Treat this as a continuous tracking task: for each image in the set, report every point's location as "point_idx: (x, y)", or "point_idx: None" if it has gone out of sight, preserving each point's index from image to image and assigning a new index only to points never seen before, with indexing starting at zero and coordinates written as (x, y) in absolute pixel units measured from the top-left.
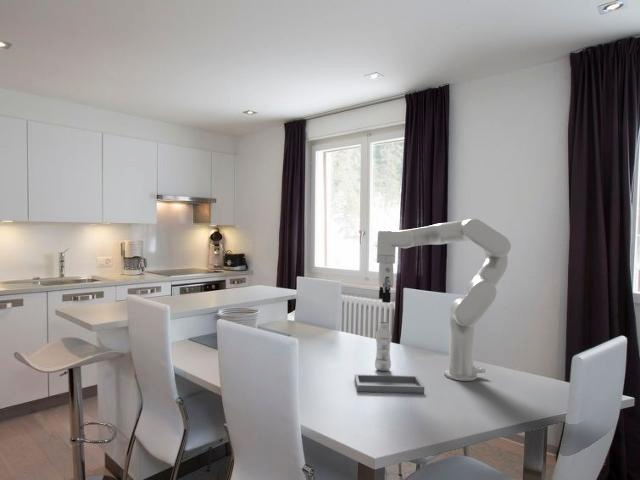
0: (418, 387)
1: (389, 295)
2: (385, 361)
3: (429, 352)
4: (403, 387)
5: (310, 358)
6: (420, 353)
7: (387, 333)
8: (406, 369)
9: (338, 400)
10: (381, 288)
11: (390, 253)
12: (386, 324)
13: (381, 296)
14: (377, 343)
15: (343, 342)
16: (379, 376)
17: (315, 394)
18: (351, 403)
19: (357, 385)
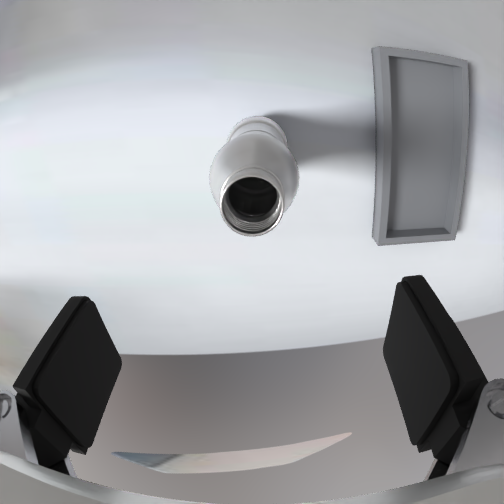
0: (467, 76)
1: (457, 354)
2: (284, 142)
3: (22, 7)
4: (467, 118)
5: (185, 342)
6: (33, 29)
7: (288, 165)
8: (227, 56)
9: (475, 268)
10: (66, 452)
11: None
12: (281, 189)
13: (105, 364)
14: (271, 197)
15: (13, 266)
16: (389, 172)
17: None
18: (491, 245)
19: (451, 239)
